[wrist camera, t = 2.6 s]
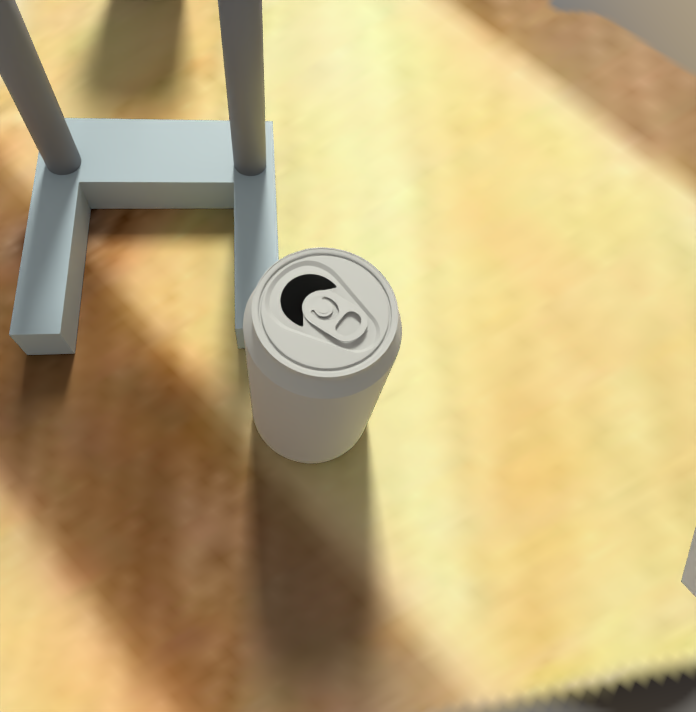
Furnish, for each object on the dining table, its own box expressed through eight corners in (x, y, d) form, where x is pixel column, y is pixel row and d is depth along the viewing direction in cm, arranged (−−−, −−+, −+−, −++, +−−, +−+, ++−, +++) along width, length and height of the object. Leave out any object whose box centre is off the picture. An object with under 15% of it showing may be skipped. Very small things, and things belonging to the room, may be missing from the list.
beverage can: (299, 339, 35) (307, 210, 25) (388, 401, 34) (439, 296, 24) (228, 421, 33) (204, 319, 22) (323, 491, 32) (346, 419, 21)
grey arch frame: (281, 347, 35) (283, 101, 19) (27, 355, 33) (-214, 91, 17) (273, 149, 41) (268, -166, 25) (57, 147, 39) (-99, -194, 23)
